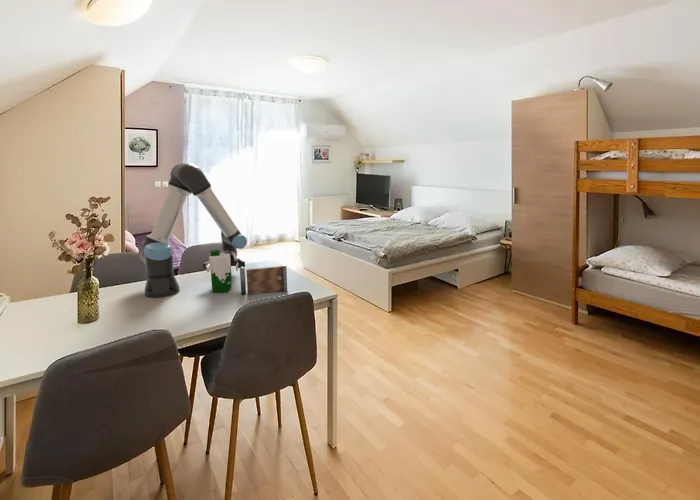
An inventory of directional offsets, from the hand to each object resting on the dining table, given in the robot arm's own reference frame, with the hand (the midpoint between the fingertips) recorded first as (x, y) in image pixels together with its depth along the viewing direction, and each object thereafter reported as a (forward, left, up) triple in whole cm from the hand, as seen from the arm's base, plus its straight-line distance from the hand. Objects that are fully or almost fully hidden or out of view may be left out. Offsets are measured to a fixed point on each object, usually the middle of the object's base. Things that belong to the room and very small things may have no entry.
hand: (222, 269), depth 193 cm
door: (+11, +19, -11) cm, 25 cm away
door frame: (+11, +18, -11) cm, 24 cm away
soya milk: (0, -1, -11) cm, 11 cm away
